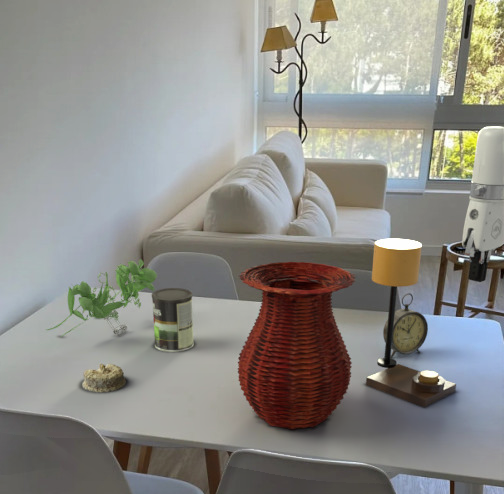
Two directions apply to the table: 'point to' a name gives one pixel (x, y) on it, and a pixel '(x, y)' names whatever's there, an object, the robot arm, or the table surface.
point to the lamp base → (410, 385)
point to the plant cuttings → (96, 304)
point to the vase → (295, 345)
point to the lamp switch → (428, 377)
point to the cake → (104, 379)
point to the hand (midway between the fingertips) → (476, 280)
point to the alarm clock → (407, 330)
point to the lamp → (395, 278)
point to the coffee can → (173, 319)
